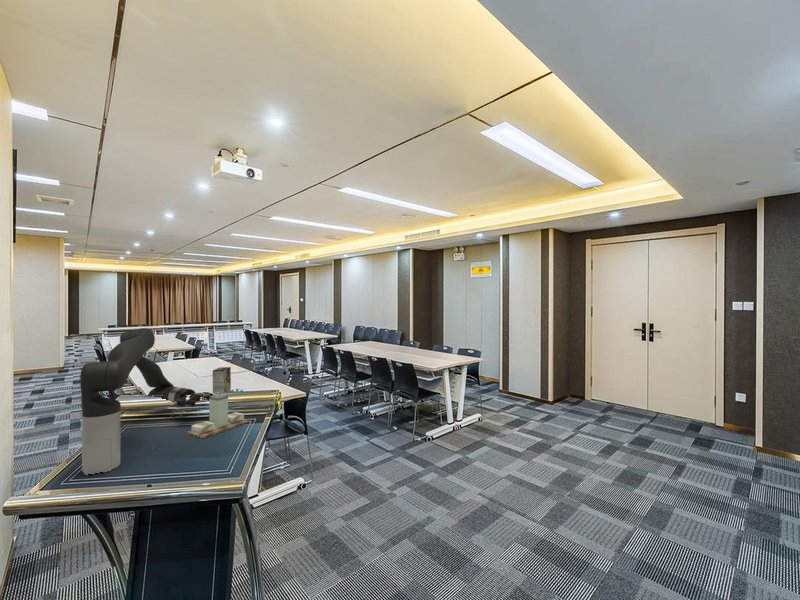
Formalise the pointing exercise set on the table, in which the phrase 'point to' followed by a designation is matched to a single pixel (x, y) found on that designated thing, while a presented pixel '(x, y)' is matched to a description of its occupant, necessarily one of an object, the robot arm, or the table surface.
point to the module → (218, 410)
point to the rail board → (210, 429)
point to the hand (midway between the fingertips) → (204, 401)
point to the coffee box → (222, 379)
